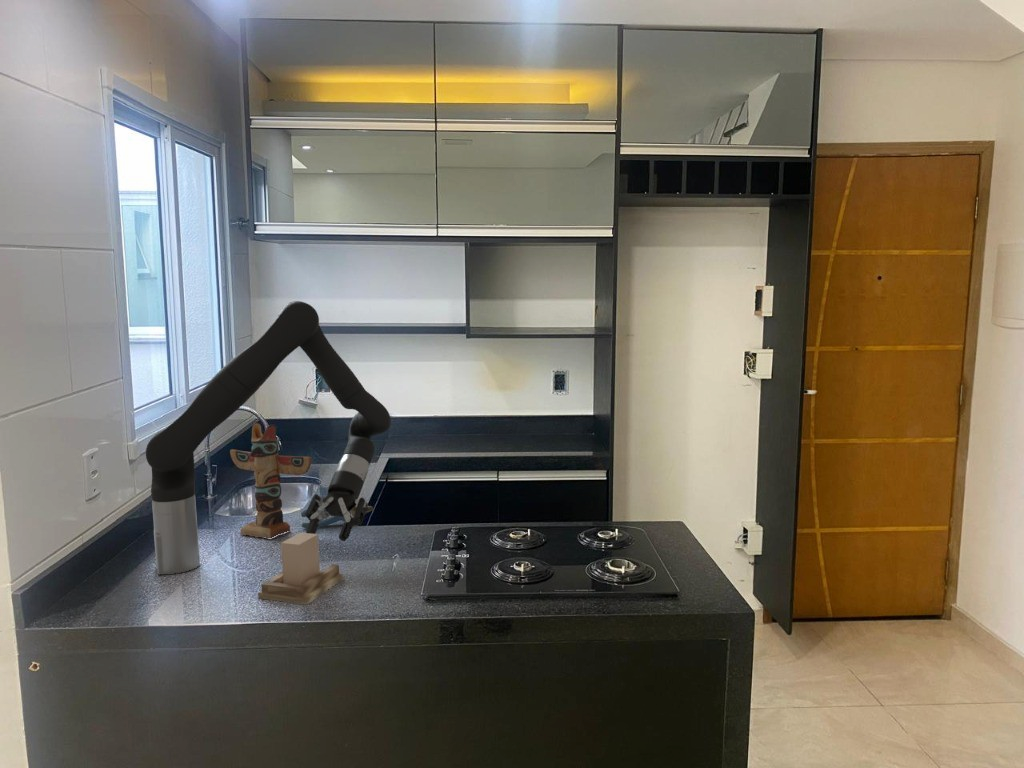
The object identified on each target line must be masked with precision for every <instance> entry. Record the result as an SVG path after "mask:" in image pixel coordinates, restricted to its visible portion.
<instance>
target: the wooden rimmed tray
mask: <svg viewBox="0 0 1024 768" xmlns="http://www.w3.org/2000/svg"><path fill="white" fill-rule="evenodd" d="M342 579H343V580H344V573H340V565H339V564H333V563H332V565H330V566H329V567H327V568H325V569H324V570H322V571H321V570H320V573H319V574H317V575H316V576H314V577H313V578H311V579H310V580H308V581H307V582H305V583H303V584H302V585H292V584H283V571H281V572H280V573H278V574H276V575H274V576H272V577H271V578H269V579H267V580H265V581H264V582H263V583H261V590H260V591H258V593H257V597H258V599H260V600H261V599H263V600H270V601H278V602H285V603H291V604H301V605H309V604H310V603H312V602H313V601H315V600H316V599H317V598H319V597H320V596H322V595H323V594H325V593H326V592H328V591H329V590H330V589H332V588H333V587H334V586H336V585H337V584H338V582H339V581H340V582H342V581H343V580H342ZM340 582H339V583H340ZM335 584H336V585H335ZM332 586H333V587H332ZM328 589H329V590H328Z"/></svg>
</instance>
